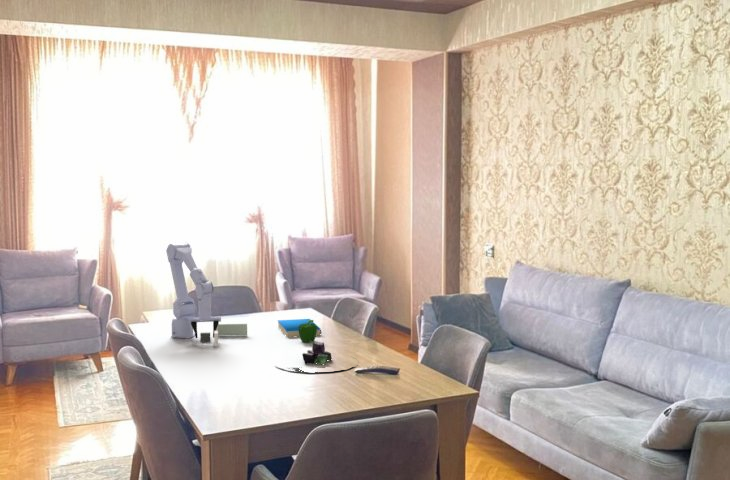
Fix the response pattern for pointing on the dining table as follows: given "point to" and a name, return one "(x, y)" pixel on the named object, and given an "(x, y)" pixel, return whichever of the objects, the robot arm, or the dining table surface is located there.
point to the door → (232, 329)
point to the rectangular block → (216, 338)
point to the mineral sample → (314, 356)
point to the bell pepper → (307, 331)
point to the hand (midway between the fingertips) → (205, 337)
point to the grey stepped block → (204, 337)
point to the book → (294, 326)
